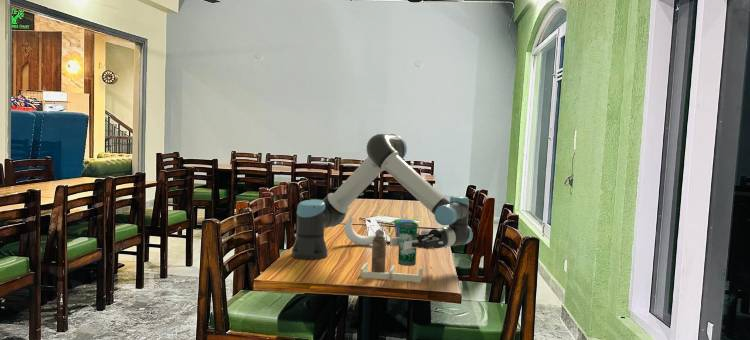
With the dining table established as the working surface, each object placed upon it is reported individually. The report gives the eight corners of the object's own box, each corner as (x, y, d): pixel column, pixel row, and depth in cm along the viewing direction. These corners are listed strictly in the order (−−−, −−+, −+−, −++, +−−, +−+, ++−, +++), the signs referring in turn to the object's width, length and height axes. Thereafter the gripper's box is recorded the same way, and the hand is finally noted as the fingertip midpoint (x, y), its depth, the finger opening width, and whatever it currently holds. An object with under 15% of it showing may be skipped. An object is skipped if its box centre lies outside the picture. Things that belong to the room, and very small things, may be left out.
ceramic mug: (435, 247, 264) (436, 231, 263) (419, 245, 267) (420, 229, 267) (442, 244, 273) (443, 229, 273) (426, 242, 277) (427, 227, 276)
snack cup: (420, 240, 281) (421, 220, 281) (416, 243, 271) (417, 223, 271) (391, 237, 286) (392, 217, 285) (386, 241, 276) (386, 220, 275)
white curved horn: (383, 247, 260) (385, 216, 260) (343, 245, 260) (344, 214, 259) (383, 244, 265) (384, 214, 264) (343, 243, 264) (344, 213, 264)
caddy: (360, 279, 200) (360, 268, 200) (364, 273, 210) (365, 262, 210) (420, 284, 197) (421, 273, 197) (422, 277, 207) (423, 267, 206)
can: (396, 264, 200) (398, 223, 200) (401, 261, 206) (403, 221, 205) (412, 266, 198) (414, 225, 197) (417, 263, 204) (418, 223, 203)
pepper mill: (370, 276, 202) (371, 230, 201) (372, 272, 207) (374, 227, 206) (383, 277, 201) (385, 231, 200) (385, 273, 206) (387, 228, 205)
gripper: (459, 252, 206) (416, 259, 191) (422, 243, 221) (379, 249, 206) (460, 232, 206) (417, 237, 191) (423, 224, 221) (380, 229, 206)
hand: (397, 243), depth 198 cm, fingers closed on can, 6 cm apart
